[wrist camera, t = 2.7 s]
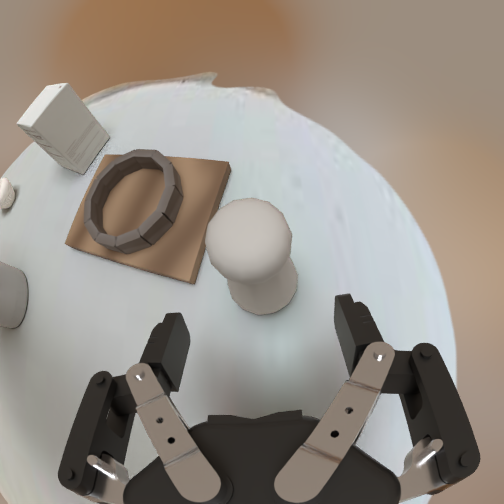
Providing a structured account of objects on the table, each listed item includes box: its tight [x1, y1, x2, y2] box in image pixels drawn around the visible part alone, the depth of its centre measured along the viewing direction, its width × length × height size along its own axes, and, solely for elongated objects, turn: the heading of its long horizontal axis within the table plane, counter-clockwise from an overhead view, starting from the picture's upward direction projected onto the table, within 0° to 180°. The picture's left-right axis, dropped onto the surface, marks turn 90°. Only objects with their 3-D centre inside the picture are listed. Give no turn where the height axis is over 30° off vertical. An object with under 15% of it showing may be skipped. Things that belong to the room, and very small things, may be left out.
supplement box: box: [17, 83, 110, 174], centre depth 28 cm, size 7×7×13 cm
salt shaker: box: [205, 198, 298, 315], centre depth 19 cm, size 6×6×13 cm
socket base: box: [65, 149, 231, 284], centre depth 27 cm, size 18×13×4 cm
